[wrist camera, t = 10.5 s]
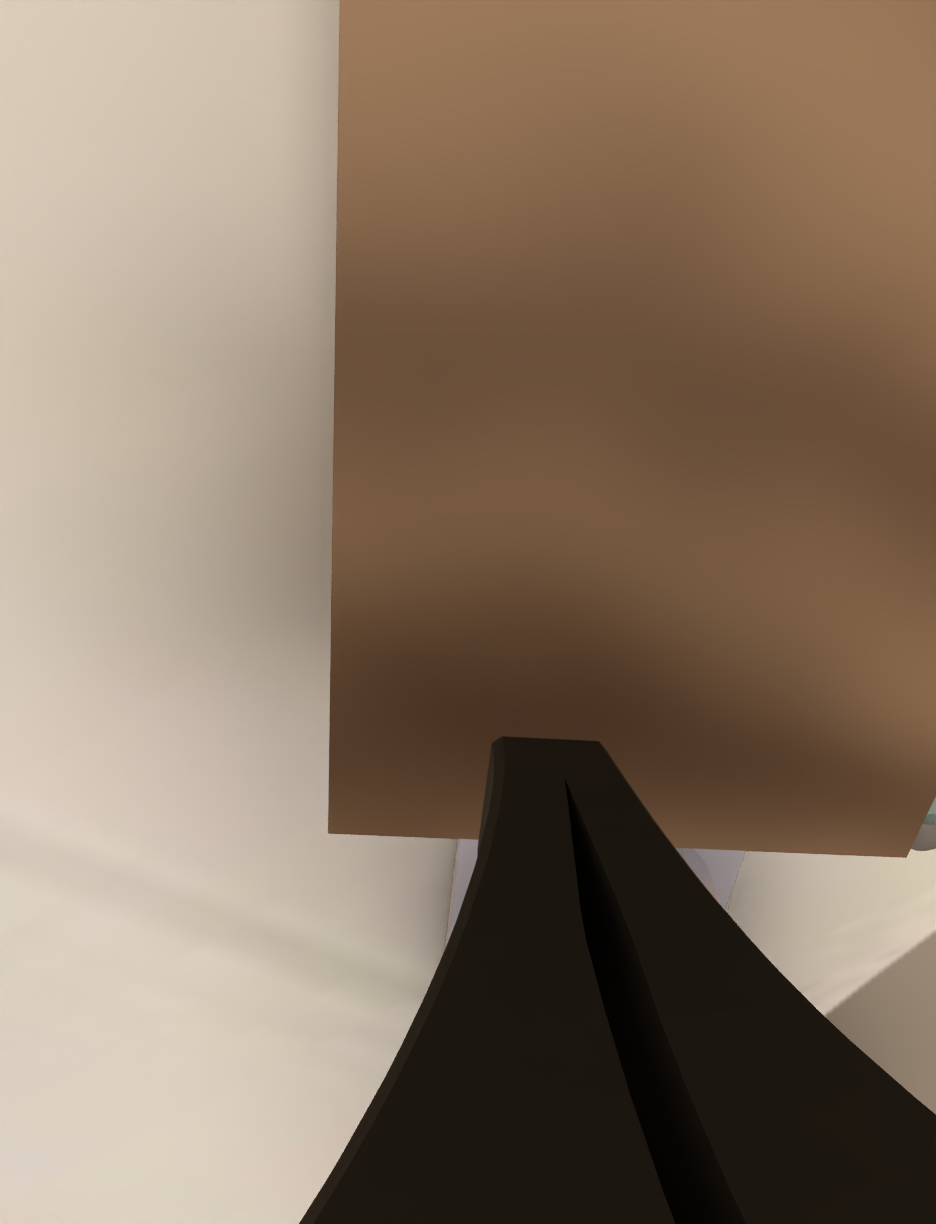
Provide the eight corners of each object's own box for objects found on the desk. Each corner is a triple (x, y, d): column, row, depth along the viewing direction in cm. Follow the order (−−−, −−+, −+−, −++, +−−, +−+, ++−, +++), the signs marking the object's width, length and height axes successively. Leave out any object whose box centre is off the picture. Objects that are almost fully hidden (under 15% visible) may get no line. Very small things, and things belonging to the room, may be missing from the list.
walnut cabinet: (793, 678, 22) (906, 857, 17) (354, 653, 21) (328, 833, 16) (1077, -151, 14) (1468, -306, 9) (381, -247, 13) (346, -481, 8)
